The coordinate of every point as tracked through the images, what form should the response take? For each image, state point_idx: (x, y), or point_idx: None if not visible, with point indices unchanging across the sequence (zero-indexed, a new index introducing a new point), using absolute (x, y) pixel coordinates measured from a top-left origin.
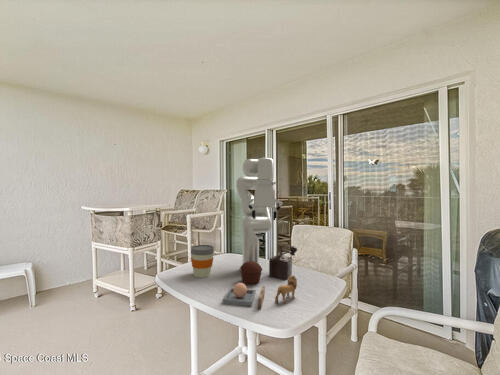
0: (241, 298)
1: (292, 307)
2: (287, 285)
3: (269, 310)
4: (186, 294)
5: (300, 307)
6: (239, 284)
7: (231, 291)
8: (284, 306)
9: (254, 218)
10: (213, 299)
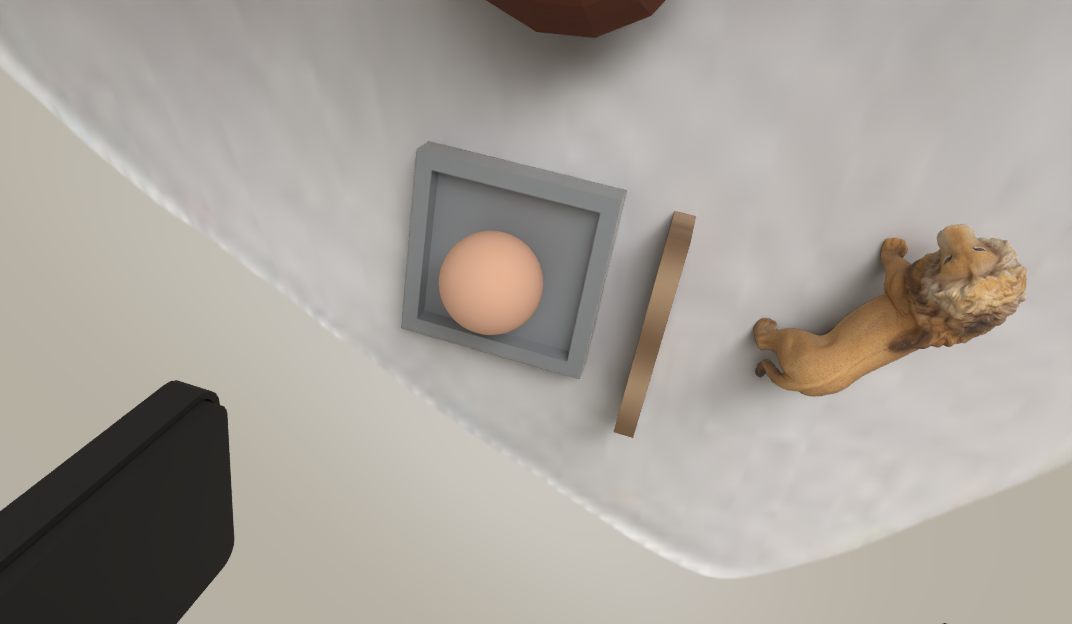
0: None
1: (860, 402)
2: (879, 357)
3: (692, 417)
4: (166, 181)
5: (921, 409)
6: (470, 317)
7: (438, 172)
8: None
9: (217, 567)
10: (345, 259)
